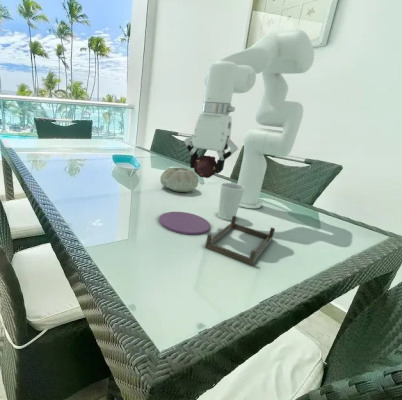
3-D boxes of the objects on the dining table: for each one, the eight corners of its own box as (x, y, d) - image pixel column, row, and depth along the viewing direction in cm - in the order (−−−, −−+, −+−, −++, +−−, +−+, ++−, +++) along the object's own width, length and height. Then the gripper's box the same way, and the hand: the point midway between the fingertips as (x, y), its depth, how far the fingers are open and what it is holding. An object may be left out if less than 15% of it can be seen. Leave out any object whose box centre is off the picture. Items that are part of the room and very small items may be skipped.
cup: (241, 217, 102) (248, 187, 98) (232, 223, 96) (239, 190, 92) (220, 211, 107) (227, 181, 103) (211, 215, 101) (217, 185, 97)
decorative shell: (170, 196, 120) (173, 174, 117) (152, 184, 135) (155, 164, 132) (204, 194, 126) (207, 173, 123) (183, 183, 142) (186, 164, 139)
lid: (175, 210, 104) (175, 208, 104) (217, 224, 94) (218, 222, 94) (149, 222, 92) (149, 220, 91) (195, 240, 82) (195, 237, 81)
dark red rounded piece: (216, 162, 75) (226, 159, 87) (192, 152, 77) (205, 150, 90) (205, 185, 77) (216, 179, 90) (182, 174, 80) (196, 169, 93)
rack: (230, 226, 94) (233, 215, 92) (272, 239, 86) (275, 228, 85) (204, 247, 78) (207, 234, 77) (252, 266, 70) (255, 252, 69)
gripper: (250, 112, 76) (237, 174, 82) (193, 108, 86) (185, 163, 92) (242, 112, 70) (229, 178, 76) (182, 107, 80) (174, 166, 86)
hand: (205, 169), depth 84 cm, fingers closed on dark red rounded piece, 7 cm apart
